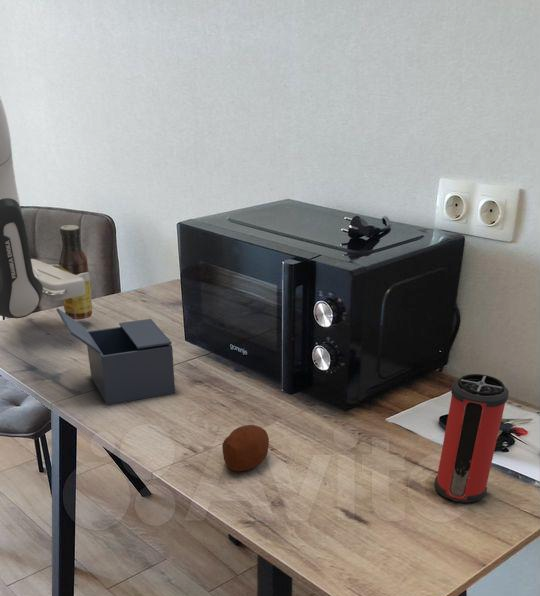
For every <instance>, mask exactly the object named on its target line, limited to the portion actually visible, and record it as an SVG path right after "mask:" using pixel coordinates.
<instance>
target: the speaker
mask: <svg viewBox="0 0 540 596" xmlns="http://www.w3.org/2000/svg"><path fill="white" fill-rule="evenodd" d="M450 393H451V398H450V403H449V409H448V414H447V420H446V425H445V431H444V435H443V442H442V447H441V452H440V458H439V464H438V470H437V475H436V477H435V479H434V488H435V490H436V491H437V492H438V493H439V494H440V495H441V496H442V497H444V498H446V499H448V500H451V501H454V502H456V503H462V504H465V503H473V502H477V501H480V500H482V499H483V498H484V497H485V496H486V494H487V490H488V487H487V485H488V481H489V475H490V471H491V467H492V464H493V463H492V462H493V459H494V454H495V450H496V445H497V441H498V437H499V432H500V428H501V424H502V419H503V414H504V410H505V406H506V403H507V402H508V400H509V399H508V398H509V394H510V391H509V389H508V388H507V387H506V386H505V384H504V383H503V381H501V380H500V379H498V378H496V377H494V376H491V375H487V374H481V373H471V374H466V375H463V376H460V378H458V379H456V380H455V381H454V382H452V385H451V390H450Z"/></svg>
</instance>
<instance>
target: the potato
mask: <svg viewBox="0 0 540 596" xmlns="http://www.w3.org/2000/svg"><path fill="white" fill-rule="evenodd" d="M269 446H270V438H269V434H268V433H267V430H266V429H265V428H263V427H261V426H258V425H255V424H245V425H242V426H239V427H237V428H235V429H233V430H232V431H231V432H230V434H229V435H228V436H227V437H225V438H224V440H223V442H222V446H221V448H222V457H223V461H224V464H225V465H226V467H227V468H228V469H229V470H232V471H233V472H245V471H248V470H250V469H251V470H252V469H253V468H255V467H257V466H259V465H261V464H263V462H264V461H265V460H266V459H267V456H268V453H269Z"/></svg>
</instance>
